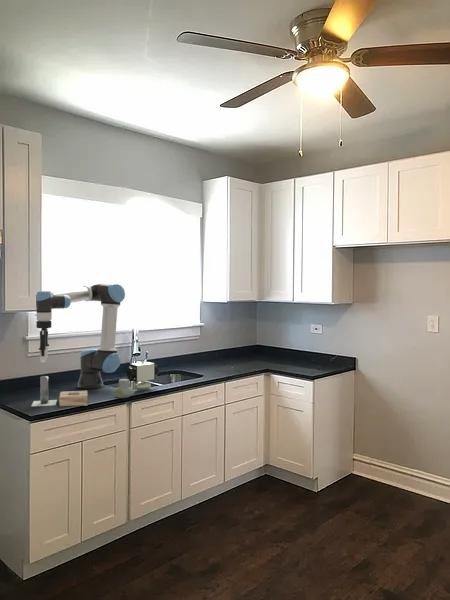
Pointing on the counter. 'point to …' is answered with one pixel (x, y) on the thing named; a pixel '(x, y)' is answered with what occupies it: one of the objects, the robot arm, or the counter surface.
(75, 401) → the block
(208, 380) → the counter surface
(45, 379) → the pin
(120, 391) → the air freshener
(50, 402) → the mat
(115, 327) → the robot arm
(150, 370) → the white boxy device
